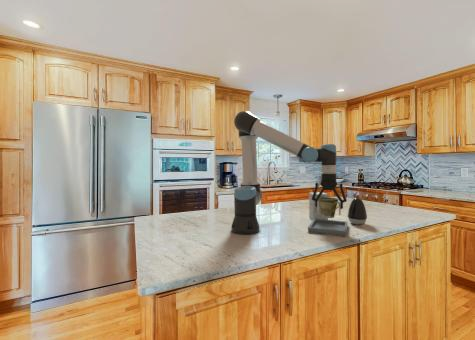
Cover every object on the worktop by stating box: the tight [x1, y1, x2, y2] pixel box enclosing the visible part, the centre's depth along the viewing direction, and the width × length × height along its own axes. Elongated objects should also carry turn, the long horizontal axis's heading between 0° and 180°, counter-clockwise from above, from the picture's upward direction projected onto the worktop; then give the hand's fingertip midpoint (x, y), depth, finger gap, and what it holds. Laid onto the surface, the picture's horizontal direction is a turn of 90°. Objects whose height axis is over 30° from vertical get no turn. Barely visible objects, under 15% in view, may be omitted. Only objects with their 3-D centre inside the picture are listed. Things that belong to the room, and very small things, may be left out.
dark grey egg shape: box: [347, 197, 368, 226], centre depth 142 cm, size 10×10×15 cm
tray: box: [307, 219, 348, 237], centre depth 132 cm, size 18×21×2 cm
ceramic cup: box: [319, 196, 340, 219], centre depth 131 cm, size 13×10×10 cm
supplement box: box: [308, 191, 329, 221], centre depth 153 cm, size 10×9×17 cm
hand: (328, 213), depth 131 cm, fingers closed on ceramic cup, 10 cm apart
